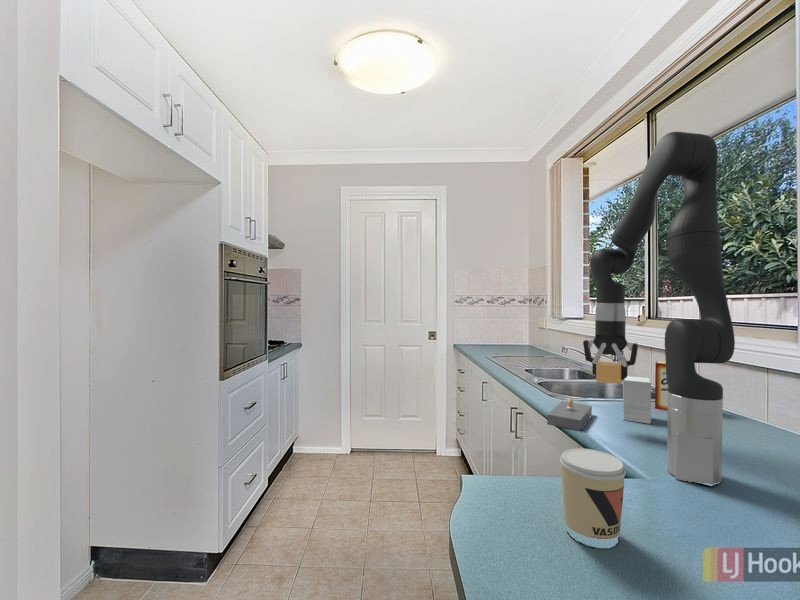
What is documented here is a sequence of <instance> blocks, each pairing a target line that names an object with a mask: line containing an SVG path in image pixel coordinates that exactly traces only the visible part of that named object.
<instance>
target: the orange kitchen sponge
mask: <svg viewBox="0 0 800 600" xmlns="http://www.w3.org/2000/svg"><path fill="white" fill-rule="evenodd" d="M621 367H622V364H621V362H616V361H605V360H599V361H598V363H596V377H595V381H596V382H600V383H610V384H617V385H621V384H623V380H621Z"/></svg>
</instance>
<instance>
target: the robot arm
mask: <svg viewBox="0 0 800 600" xmlns="http://www.w3.org/2000/svg"><path fill="white" fill-rule="evenodd" d="M717 173H718V147H717V143H716V141H715V139H714V138H712V137H711V136H709V135H706V134H702V133H695V132H686V131H671V132H669V133H666V134H665V135H663V136H662V137H661V138H660V139H659V140H658V142H657V143H656V144H655V146H654V148H653V150H652V151H651V153H650V156H649V157H648V160H647V162H646V165H645V167H644V170H643V171H642V174H641V176H640V178H639V181H638V184H637V186H636V189H635V192H634V194H633V196H632V199H631V201H630V203H629V204H628V207H627V209H626V211H625V212H624V214H623V216H622V218H621V219H620V221H619V222H618V224H617V226H616V227H615V229H614V230H613V233H612V234H611V237H610V240H611V243H612V244H613V245H614V246H615V247H617V248H616V249H614V248H599V249H597V250H595V251H594V252H593V253H592V255H591V257H590V260H589V267H590V270H591V271H590V272H591V274H592V278H593V282H594V285H595V288H596V305H595V306H596V307H595V311H594V312H595V314H594V317H595V318H594V319H595V328H594V329H595V330H594V331H595V332H594V333H595V334H594V335H595V336H594V339H591V340H588V339H585V340H583V342H582V345H583V351H584V358H585V361H586V362H590V363H591V364H592V375H594V377H595V378H596V363H598V362H599V361H600V359H601V358H602V356H603V355H605V356H606V355H611V356H616V357H617V359H618V360H619V361H620V362H619V363H621V364H622V367H621V380H624V379H625V378H627V376H628V370H629V369H628V367H630V366H634V365H635V364H636V361H637V356H638V349H639V344H638V343H637V342H635V343H633V342H628V341H627V337H626V320H627V314H626V304H625V302H626V301H625V299H626V298H625V297H626V296H625V293H626V292H625V286H624V284H623V283H621V282H618V281H615V280H614V279H613V277H612V275H622V274H624V273H626V272H627V271H629V270H630V268H631V267H632V266H633V263H634V260H635V257H636V255H637V252H638V248H639V245H640V243H641V242H642V241H643V239H644V238H645V236H646V235H647V233H648V232H649V231H650V229H651V227H652V225H653V224H654V221H655V220H654V219H655V216H656V198H657V195H658V194H657V193H658V191H659V189H660V187H661V186H662V184H663V183H664V182H665V180H666V179H667V178H668V177H669V176H670V177H671V176H672V177H679V178H680V177H681V179H682V183H683V199H682V203H681V206H680V208H679V209H678V211H677V213H676V214H675V216H674V218H673V219H672V221H671V223H670V225H669V228H668V229H667V235H666V241H667V255H668V262H669V264H670V266H671V268H672V270H673V271H674V272H675V274H676V275H677V276H678V277H679V278H680V280H681V281H682V282H683V283H684V284H685V286H686V287H687V288H688V289H689V291H690V292H691V294H692V295H693V296H694V299H695V300H696V303H697V307H698V311H699V316H700V319H698V318H697V319H696V318H695V319H694V318H680V319H679V318H677V319H674V320H671V321H669V323H668V324H667V326H666V329H665V333H664V355H665V361H666V377H667V382H668V411H667V431H666V432H667V438H666V439H667V442H666V443H667V445H666V446H667V448H666V450H667V452H666V453H667V457H666V460H667V462H666V463H667V464H666V465H667V467H666V468H667V470H666V471H667V472H668V473H669V474H671V475H672V476H674V478H675V479H676V480H679V481H684V482H687V481H688V483H692V482H701V483H709V484H714V483H718V482H721V481H722V482H723V415H724V414H723V409H724V408H723V407H724V404H723V403H724V401H723V400H724V388H723V385H722V384H721V383H719V382H717V381H715V380H712V379H710V378H709V379H708V378H705V377H704V376H702V375H700V374H699V373H698V372H697V370H696V366H695V365H696V364H725V363H727V362H729V361H730V360H731V359H732V357H733V355H734V353H735V347H736V345H735V344H736V340H735V333H734V332H735V331H734V327H733V323H732V317H731V313H730V309H729V308H730V307H729V304H728V303H729V302H728V299H727V293H726V288H725V279H724V278H725V277H724V270H723V269H724V268H723V261H722V260H723V257H722V240H721V233H720V232H721V231H720V226H719V219H718V200H717V199H718V198H717V176H718V175H717ZM593 345H594V346H595V347H596V349H597V352H596V353H595V356H594V357H592V352H591V351H592V350H591V348H592V347H593ZM626 347H628V350H629V351H631V352H630V357H629V358H630V359H629V360H627V359H626V356H625V354H624V352H623V350H624V349H625V348H626ZM722 482H721V483H722Z"/></svg>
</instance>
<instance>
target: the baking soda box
mask: <svg viewBox="0 0 800 600" xmlns="http://www.w3.org/2000/svg"><path fill="white" fill-rule="evenodd" d="M654 371H655V377H654V378H655V380H654V381H655V383H654V384H655V387H654V409H656V410H661V411H667V412H668V382H667V377H666V360H658V359H657V360H656V362H655V370H654Z"/></svg>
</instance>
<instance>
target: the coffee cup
mask: <svg viewBox="0 0 800 600" xmlns="http://www.w3.org/2000/svg"><path fill="white" fill-rule="evenodd" d="M559 460H560V467H561V468H560V470H561V487H562V488H561V489H562V491H561V492H562V503H563V520H564V521H563V522H564V525H565V524H566V525H567V526H568V527H569V528H570V529H571V530H573V531H575V532H576V533H579V534H581V535H584V536H586V537H590V538H597V539H611V538H615V537H617V536H618V535H619V534H620V533H621V523H622V513H623V499H624V489H625V477H626V475H627V474H626V473H627V472H626V471H627V470H626V466H625V465H624V463H623V462H622V461H621V459H619V458H617V457H616V456H614V455H612V454H610V453H607V452H605V451H601V450H597V449H592V448H577V447H575V448H571V449H566V450H565V451H563V452H562V454H561V456H560V458H559ZM620 535H621V534H620ZM620 535H619V536H620Z"/></svg>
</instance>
